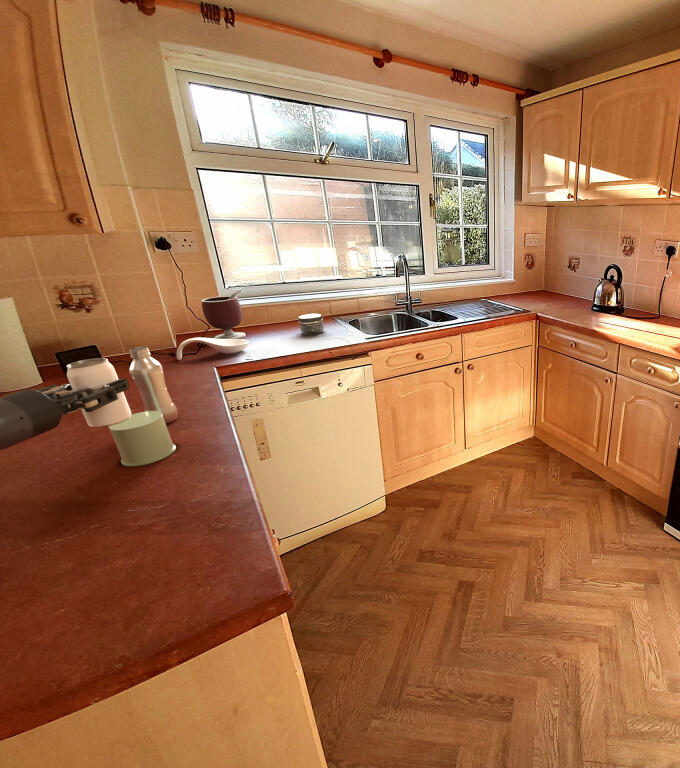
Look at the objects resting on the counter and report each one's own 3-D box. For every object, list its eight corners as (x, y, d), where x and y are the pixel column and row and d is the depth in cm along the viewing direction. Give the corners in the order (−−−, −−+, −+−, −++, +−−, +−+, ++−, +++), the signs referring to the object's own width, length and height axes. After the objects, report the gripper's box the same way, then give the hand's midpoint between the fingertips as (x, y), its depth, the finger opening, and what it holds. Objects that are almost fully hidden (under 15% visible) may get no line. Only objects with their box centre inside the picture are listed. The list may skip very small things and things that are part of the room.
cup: (139, 471, 88) (123, 433, 85) (112, 463, 92) (96, 426, 88) (186, 449, 97) (174, 414, 93) (159, 442, 100) (147, 407, 97)
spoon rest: (249, 345, 175) (245, 328, 172) (251, 352, 166) (247, 334, 163) (179, 356, 163) (173, 338, 160) (177, 364, 154) (170, 345, 151)
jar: (328, 332, 193) (325, 315, 190) (306, 336, 186) (302, 319, 184) (319, 328, 200) (316, 312, 197) (297, 332, 193) (294, 316, 190)
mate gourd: (208, 343, 179) (194, 295, 171) (215, 335, 191) (202, 290, 183) (249, 338, 184) (237, 292, 177) (253, 331, 196) (243, 288, 189)
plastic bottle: (147, 430, 106) (118, 354, 98) (151, 420, 111) (123, 347, 103) (179, 424, 109) (153, 350, 101) (181, 414, 114) (156, 343, 107)
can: (115, 427, 80) (90, 367, 75) (78, 429, 79) (52, 368, 75) (140, 412, 86) (119, 356, 81) (107, 414, 85) (84, 358, 81)
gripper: (38, 400, 65) (137, 365, 80) (-45, 398, 66) (69, 364, 81) (58, 443, 67) (150, 401, 83) (-22, 440, 69) (84, 399, 84)
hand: (109, 382), depth 82 cm, fingers closed on can, 6 cm apart
